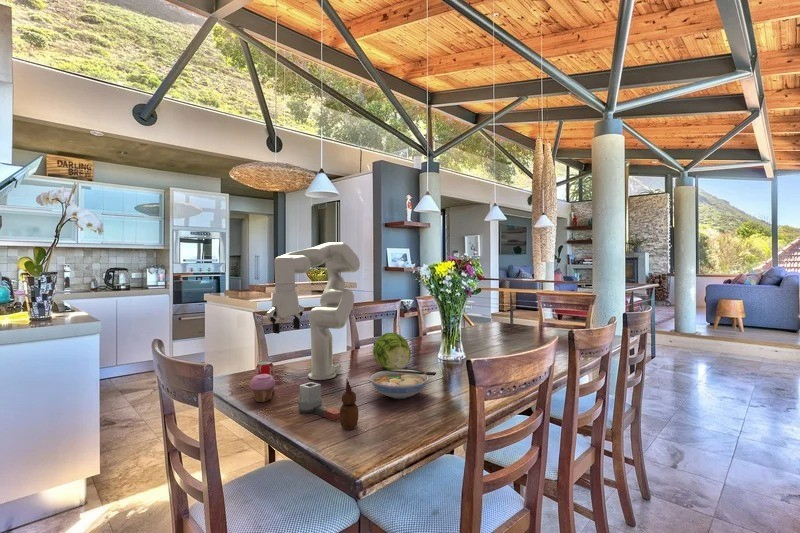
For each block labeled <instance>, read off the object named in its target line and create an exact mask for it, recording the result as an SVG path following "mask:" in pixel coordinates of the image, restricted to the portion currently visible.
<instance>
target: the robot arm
mask: <svg viewBox="0 0 800 533" xmlns="http://www.w3.org/2000/svg"><path fill="white" fill-rule="evenodd" d="M323 264H325V268H326V273H327V277H328V278H327V279H328V280H327V283H326V285H325V287H324V290H323V292H322V294H321V296H320V300H319V303H320V305H321V306H316V307H315V306H314V307H313V308H311V310H310V311H309V313H308V322H309V328H310V354H311V356H310V358H311V359H310V360H311V362H310V364H311V372H309V373H308V374H307V378H308V379H310V380H313V381H322V380H323V381H326V380H329V379H334V378H336V377H337V372H335V371H336V370H339V369H341V368H342V367H341V364H333V363H334V361H333V360H334V359H333V355H334V353H333V350H334V349H333V347H334V346H333V334H332V332H331V331H330V330H331V329H332V330H333V329H336V330H341V329H343V328H344V327H345V326H346V324H347V322H348V320H349V317H350V314H351V312H352V310H353V307H354V305H355V304H354V303H355V295H354V293H353V291H352V290H351V289H349V288H345V287H346V282H345V279H344V278H343V277H342V274H341V273H356V272H357V271H359V269H360V266H361V261H360V259H359V257H358V255H357V254H356V253H355V252H354V250H353V249H352V248H351V247H350V246H349V244H347V243H345V242H343V241H341V242H340V241H339V242H336V241H335V242H325V243H321V244H318V245H316V246H313V247H310V248H309V247H308V248H305V249H300V250H295V251H291V252H288V253H285V254H282V255H280V256H277V257H275V258H274V279H275V280H274V283H275V284H274V289H275V291H274V292H273V294H272V299H271V308H270V310H268V311H267V312H266V313H265V315H266V316H267V319H268V320H269V321H270V323H271V324H272V332H273V334H278V335H279V334H280V329H281V328H280V323H279V322H280V320H281V318H289V317H293V320H292V323H293V324H292V325H293V327H292V328H293V329H295V330H300V327H301V326H300V325H301V322H300V320H301V319H302V316H303V314H304V310H305V307H304V306H302V305H301V304H299V295H298V292H297V290H296V288H297V283H296V278H295V277H296V275H302V274H306V273H308V272H309V271H310V270H311V268H314V267H319V266H321V265H323Z"/></svg>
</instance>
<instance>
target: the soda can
mask: <svg viewBox="0 0 800 533" xmlns="http://www.w3.org/2000/svg"><path fill="white" fill-rule="evenodd" d="M261 374H269V375H270V376H272V377H273V378H274V379H275V365H274V364H273V361H272V360H262V361H258V362H257V364H256V366H255V376H256V375H261ZM274 390H275V386H274V387H273V390H272V392H274Z"/></svg>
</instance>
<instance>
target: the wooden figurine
mask: <svg viewBox="0 0 800 533" xmlns="http://www.w3.org/2000/svg"><path fill="white" fill-rule="evenodd" d="M345 382H346V384H345V391H343V393H342V394H341V402H342V404H341V406H340V409H339V411H340V420H339V421H340V425H341V428H342V429H344V430H346V431H349V430H354V429H355V428H356V427H357V425H358V422H359V408H358V405H357V403H356V401H357V394H356V392H355V391H354V390H353V389H352V388H351V384H350V381H349V380H348V378H346V381H345Z"/></svg>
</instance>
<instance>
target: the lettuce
mask: <svg viewBox="0 0 800 533" xmlns="http://www.w3.org/2000/svg"><path fill="white" fill-rule="evenodd" d="M411 353H412V350H411V348H410V345H409V343H408V341H407V339H406V338H405V337H403V336H402V335H400V334H397V333H395V332H386V333H383V334H381V335H380V336H379V337H378V338H377V339H376V340H375V343H374V345H373V355H374V358H375V360H376V362H377V363H378V364H379V365H380V366H381V367H382V368H383V369H384V370H404V369H405V368H406V367H407V365H408V364H409V362H410V360H411V355H412V354H411Z"/></svg>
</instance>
